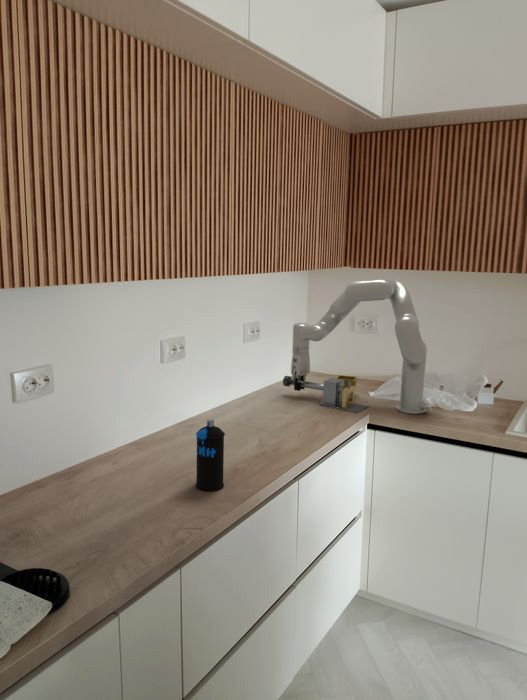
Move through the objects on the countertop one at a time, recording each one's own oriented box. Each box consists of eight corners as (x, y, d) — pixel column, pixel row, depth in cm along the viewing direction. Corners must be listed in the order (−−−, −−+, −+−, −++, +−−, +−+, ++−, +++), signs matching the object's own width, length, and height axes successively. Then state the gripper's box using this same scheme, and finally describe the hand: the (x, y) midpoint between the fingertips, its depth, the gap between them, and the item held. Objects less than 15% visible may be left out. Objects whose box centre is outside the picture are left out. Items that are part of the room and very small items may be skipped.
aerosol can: (209, 478, 177) (210, 413, 173) (229, 485, 171) (231, 419, 168) (189, 486, 170) (189, 419, 167) (210, 494, 165) (210, 425, 162)
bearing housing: (346, 403, 265) (347, 379, 263) (335, 408, 256) (336, 383, 254) (330, 400, 269) (331, 376, 267) (319, 405, 260) (320, 381, 258)
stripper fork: (349, 404, 263) (350, 381, 261) (341, 408, 255) (342, 385, 254) (348, 404, 263) (349, 381, 261) (339, 408, 256) (340, 385, 254)
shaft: (342, 394, 262) (342, 383, 261) (337, 396, 258) (337, 385, 257) (288, 384, 277) (288, 374, 276) (282, 386, 273) (283, 376, 272)
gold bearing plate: (353, 404, 261) (355, 386, 260) (345, 408, 254) (346, 389, 253) (349, 403, 262) (350, 385, 261) (341, 408, 255) (342, 389, 254)
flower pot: (334, 397, 275) (335, 378, 273) (337, 393, 283) (338, 374, 281) (353, 399, 272) (354, 380, 270) (356, 395, 280) (357, 376, 279)
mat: (368, 407, 259) (368, 406, 259) (357, 413, 250) (357, 412, 249) (347, 403, 265) (347, 402, 265) (336, 409, 255) (336, 408, 255)
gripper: (298, 353, 259) (297, 394, 262) (316, 348, 272) (314, 387, 276) (284, 351, 263) (283, 391, 266) (302, 346, 276) (301, 385, 280)
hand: (299, 389), depth 271 cm, fingers closed on shaft, 2 cm apart
